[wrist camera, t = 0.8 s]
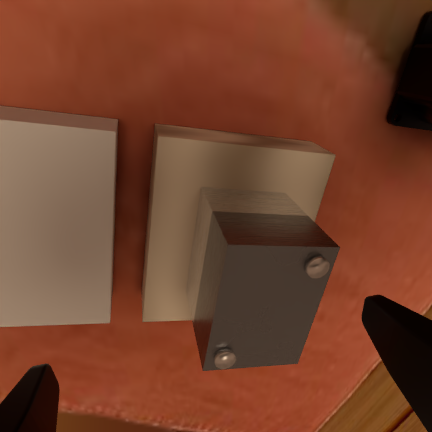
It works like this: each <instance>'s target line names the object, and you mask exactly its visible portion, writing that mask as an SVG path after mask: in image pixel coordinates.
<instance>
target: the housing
mask: <svg viewBox="0 0 432 432" xmlns="http://www.w3.org/2000/svg"><path fill="white" fill-rule="evenodd" d="M339 249H340V247H339V246H338V245H337V244H336V243H335V242H334V241H333V240H332V239H331V238H330V237H329V236H328V235H327V234H326V233H325V232H324V231H323V230H322V229H321V228H320V227H319V226H318V225H317V224H316V223H315V222H314V221H313V220H312V219H311V218H310V217H309V216H308V215H307V214H306V213H305V212H304V211H303V210H302V209H301V208H300V207H299V206H298V205H297V204H296V203H295V202H294V201H293V200H292V199H291V198H290V197H289V196H288V195H287V194H286V193H281V192H267V191H252V190H238V189H223V188H209V187H201V190H200V197H199V203H198V210H197V217H196V224H195V231H194V237H193V244H192V251H191V258H190V264H189V271H188V278H187V285H186V294H187V299H188V303H189V308H190V313H191V318H192V322H193V327H194V332H195V336H196V341H197V346H198V351H199V355H200V360H201V365H202V369H203V371H208V370H221V369H234V368H247V367H260V366H273V365H286V364H298V361H299V358H300V356H301V353H302V350H303V347H304V345H305V342H306V339H307V336H308V334H309V331H310V328H311V326H312V323H313V320H314V317H315V315H316V312H317V309H318V306H319V304H320V301H321V298H322V295H323V293H324V290H325V287H326V284H327V282H328V279H329V276H330V273H331V271H332V268H333V265H334V262H335V260H336V257H337V254H338V252H339Z"/></svg>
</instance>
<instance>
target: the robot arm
mask: <svg viewBox="0 0 432 432" xmlns="http://www.w3.org/2000/svg"><path fill="white" fill-rule="evenodd" d="M431 19H432V11H429V12H428V13H426V15H425V16H424V18H423V20H422V22H421V25H420V28H419V31H418V33H417V36H416V39H415V42H414V44H413V47H412V50H411V53H410V55H409V58H408V61H407V64H406V66H405V69H404V72H403V75H402V77H401V80H400V83H399V86H398V88H397V91H396V94H395V97H394V99H393V102H392V105H391V107H390V110H389V113H388V116H387V122H388V123H389V124H392V125H395V126H402V127H409V128H416V129H423V130H430V131H432V24H431ZM396 115H397V118H396V119H395V116H396ZM394 119H395V120H394ZM362 322H363V325H364V327H365V329H366V331H367V333H368V335H369V336H370V338H371V340H372V342H373V344H374V346H375V348H376V350H377V352H378V353H379V355H380V357H381V359H382V361H383V363H384V365H385V367H386V368H387V370H388V372H389V373H390V375H391V377H392V378H393V380H394V381H395V383H396V384H397V386H398V387H399V389H400V390H401V392H402V393H403V395H404V396H405V398H406V399H407V401H408V402H409V404H410V405H411V407H412V409H413V410H414V412H415V413H416V415H417V416H418V418H419V419H420V421H421V422H422V424H423V425H424V427H425V428H426V430H427V431H428V432H432V320H430V319H428V318H426V317H424V316H422V315H420V314H418V313H416V312H414V311H412V310H410V309H408V308H406V307H404V306H402V305H400V304H398V303H396V302H394V301H392V300H390V299H388V298H386V297H384V296H382V295H373V296H368V297H366V299H365V301H364V306H363V312H362ZM58 402H59V383H58V381H57V379H56V377H55V374H54V372H53V370H52V368H51V366H50V365H49V364H41V365H37V366H33V367H31V368H30V369H29V370H28V371H27V372H26V374H25V375H24V376H23V377H22V378H21V380H20V381H19V382H18V383H17V385H16V386H15V387H14V388H13V389H12V391H11V392H10V393H9V394H8V395H7V397H6V398H5V399H4V400H3V401H2V403H1V404H0V432H56V425H57V413H58Z"/></svg>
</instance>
